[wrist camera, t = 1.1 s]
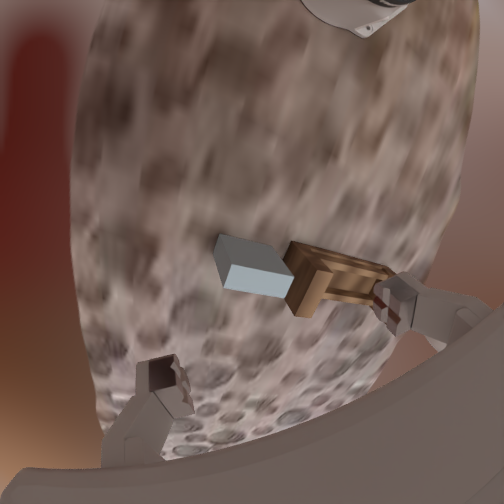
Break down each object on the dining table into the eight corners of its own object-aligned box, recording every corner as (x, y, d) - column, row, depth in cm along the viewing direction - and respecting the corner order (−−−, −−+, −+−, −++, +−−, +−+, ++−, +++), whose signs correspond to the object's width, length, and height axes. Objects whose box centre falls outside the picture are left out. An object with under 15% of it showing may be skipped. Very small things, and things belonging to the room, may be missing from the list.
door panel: (271, 246, 49) (294, 276, 40) (264, 264, 50) (284, 298, 41) (219, 233, 45) (231, 264, 37) (212, 253, 47) (223, 287, 38)
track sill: (387, 266, 58) (416, 291, 49) (370, 298, 61) (396, 326, 52) (291, 240, 49) (317, 269, 40) (273, 281, 52) (294, 316, 43)
